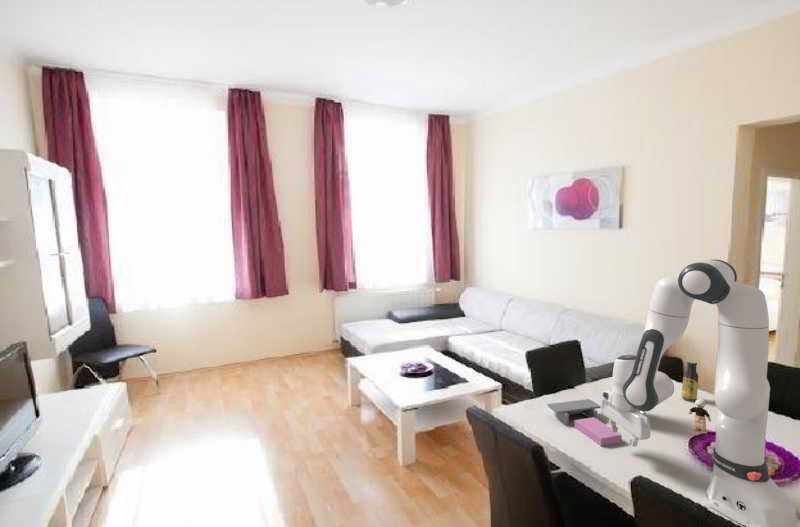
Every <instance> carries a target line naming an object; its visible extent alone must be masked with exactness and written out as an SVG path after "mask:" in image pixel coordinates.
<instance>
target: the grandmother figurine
mask: <svg viewBox="0 0 800 527" xmlns="http://www.w3.org/2000/svg"><path fill="white" fill-rule="evenodd" d="M694 404H695V405H696V406H694V407H691V408H690V409H689V411H688V415H692V414H693V413H695V414H694V428H693V430H694V431H696V432H699V431H700V432H701V433H702V434H706V433H705V432H708V433H709V430H708V429H707V421H708V422H709V423H710V422H712V419H711V416H710V414H709V412H708V411H707V410H706V409H704V408H705V405H706V400H705V399H703V398H696V401H694Z"/></svg>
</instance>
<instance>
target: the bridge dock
mask: <svg viewBox="0 0 800 527" xmlns="http://www.w3.org/2000/svg"><path fill="white" fill-rule="evenodd" d="M546 405H547V407H548V408H550V409H551V410H552V411H553V412H554V413H553V415H554V417H555V416H556V418H557V419H558V420H559V421H560V420H561V421H560V422H562V424H564V425H565V426H569V425H570V421H569V420H570V419H569V418H570V415H571V414H573V415H578V414H579V415H580V413H581V414H583V413H584V414H583V415H584V416H586V417H587V418H592V417H594V418H596V419H597V420H598V410H597V409H601V404H598V403H597V402H595V401H593V400H592V399H590V398H588V399H578V400H569V401H562V402H555V403H554V402H553V403H547V404H546Z"/></svg>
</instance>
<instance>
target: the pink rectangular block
mask: <svg viewBox="0 0 800 527" xmlns="http://www.w3.org/2000/svg"><path fill="white" fill-rule="evenodd" d="M573 423H574V424H573V425H574V429H576V430H577V431H578V430H579V431H578V432H580V433H581V434H583V435H584V436H585V435H586V437H587V438H588V437H589V439H590V440H591V439H592V440H593V442H594V443H595V442H596V443H595V444H597V445H598V446H599V445H600V446H599V447H605V445H606V446H610V444H612V445H617V444H622V434H621V433H619V432H618V431H617V432H613V431H611V426H609V425H607V424H606V423H603V422H602V421H600V420H599V419H598V418H597V419H596V418H594V417H592V418H589V417H587V418H579V419H575V420H574V421H573ZM592 440H591V441H592Z"/></svg>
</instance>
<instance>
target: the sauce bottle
mask: <svg viewBox="0 0 800 527" xmlns="http://www.w3.org/2000/svg"><path fill="white" fill-rule="evenodd" d="M686 365H687V366H686V371H685V372H684V374H683V377H682V389H681V390H682V391H681V398H682V399H683V400H684V401H687V402H692V403H693V402H695V401H696V400H697V399H698V390H699V375H698V373H697V366H698V362H697V361H695V360H687V362H686Z"/></svg>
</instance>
